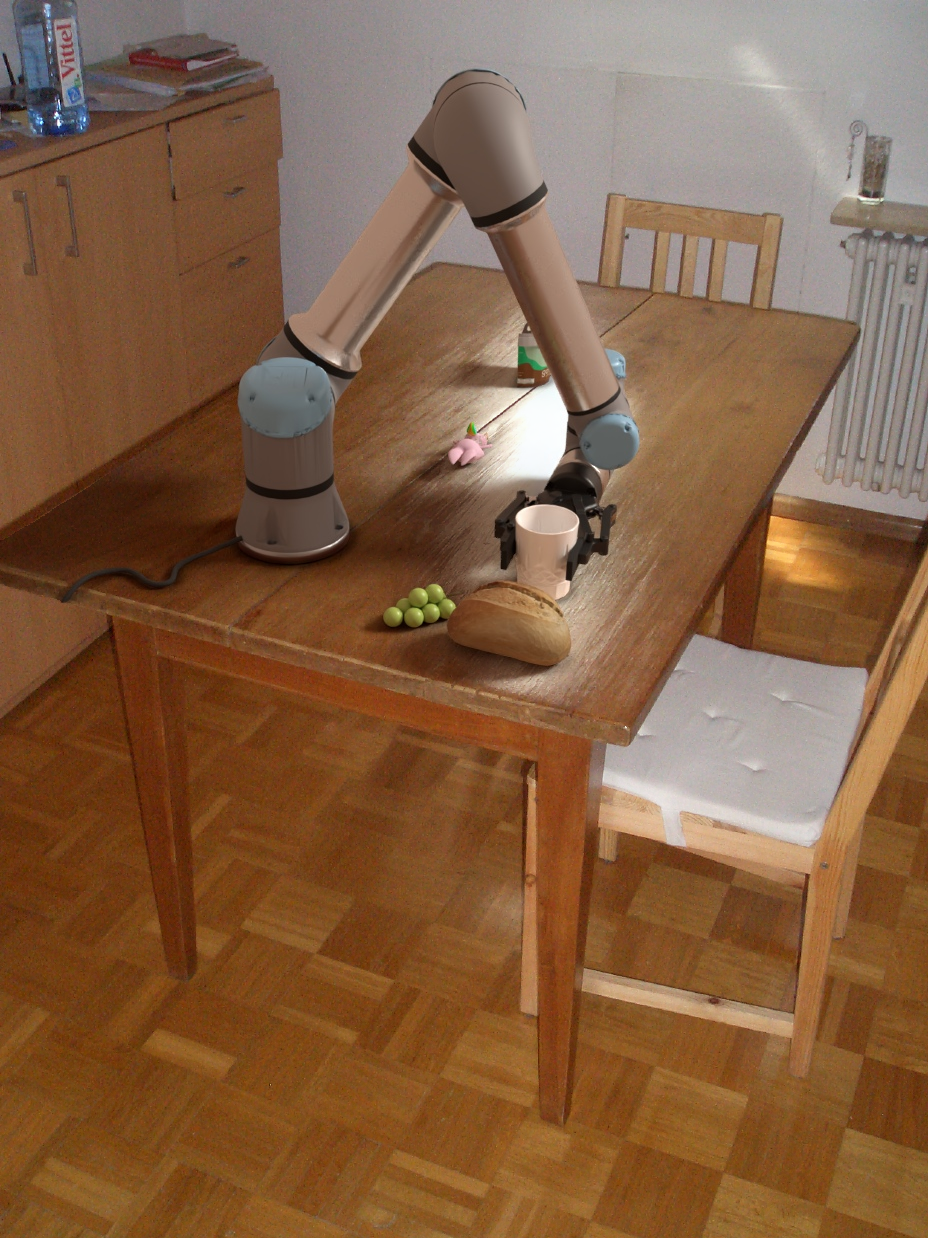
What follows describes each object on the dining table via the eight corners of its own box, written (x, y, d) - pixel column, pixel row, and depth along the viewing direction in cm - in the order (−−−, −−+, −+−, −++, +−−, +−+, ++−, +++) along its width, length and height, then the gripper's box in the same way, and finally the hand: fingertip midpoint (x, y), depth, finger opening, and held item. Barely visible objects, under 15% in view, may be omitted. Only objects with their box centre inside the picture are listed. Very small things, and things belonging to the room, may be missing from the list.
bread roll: (460, 617, 156) (461, 561, 151) (579, 638, 152) (584, 581, 148) (436, 659, 148) (437, 601, 144) (561, 682, 144) (565, 623, 140)
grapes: (392, 637, 152) (392, 607, 149) (376, 618, 155) (375, 588, 153) (473, 615, 156) (474, 586, 154) (455, 597, 160) (456, 568, 157)
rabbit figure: (459, 447, 201) (436, 472, 187) (461, 410, 198) (437, 433, 185) (497, 452, 200) (477, 478, 186) (500, 415, 197) (479, 438, 184)
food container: (550, 393, 217) (554, 337, 212) (515, 390, 218) (518, 334, 212) (560, 368, 227) (564, 313, 222) (526, 364, 228) (529, 310, 223)
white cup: (575, 605, 159) (581, 534, 153) (512, 603, 159) (516, 533, 153) (571, 573, 165) (577, 505, 160) (511, 571, 165) (514, 503, 160)
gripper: (647, 522, 173) (615, 605, 155) (503, 500, 178) (455, 578, 159) (653, 472, 169) (621, 552, 151) (505, 451, 174) (456, 525, 155)
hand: (536, 565), depth 155 cm, fingers closed on white cup, 7 cm apart
